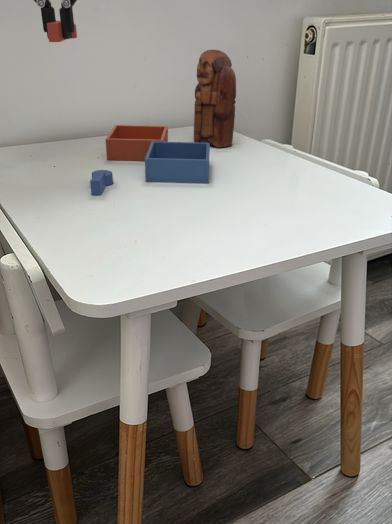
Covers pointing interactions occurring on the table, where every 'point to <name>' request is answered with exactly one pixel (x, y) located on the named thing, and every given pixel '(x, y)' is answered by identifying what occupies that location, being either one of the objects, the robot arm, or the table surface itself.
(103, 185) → the blue curved block
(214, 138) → the wooden figurine
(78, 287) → the table surface
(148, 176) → the blue bin
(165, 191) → the table surface
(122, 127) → the red bin
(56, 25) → the red curved block
